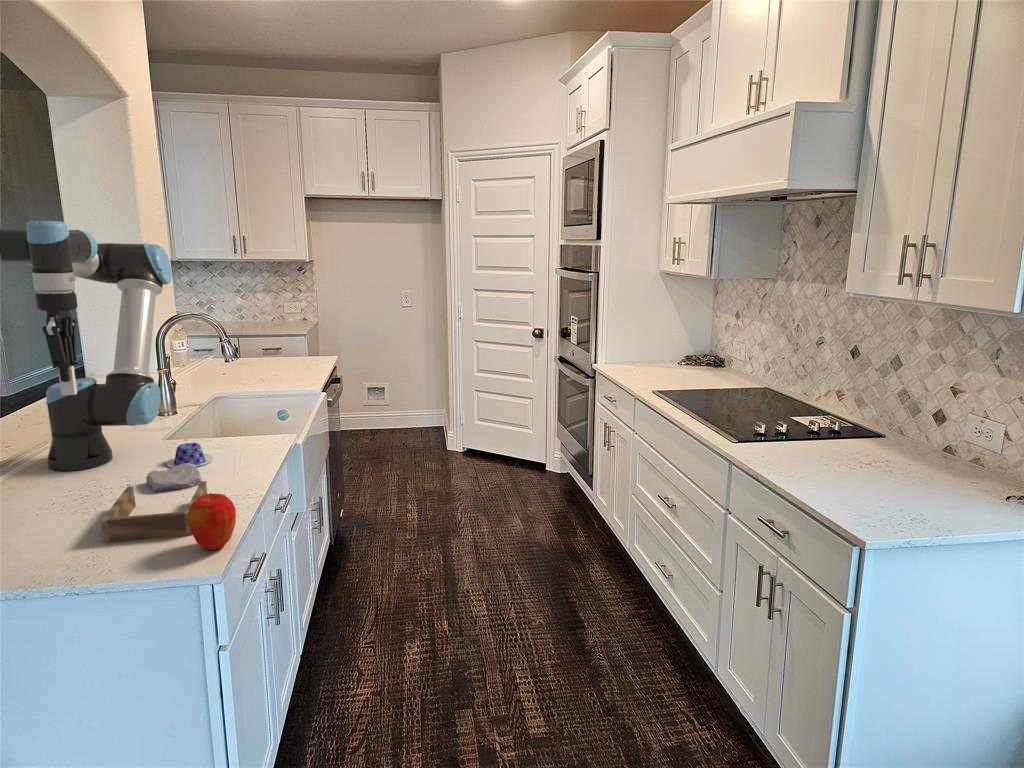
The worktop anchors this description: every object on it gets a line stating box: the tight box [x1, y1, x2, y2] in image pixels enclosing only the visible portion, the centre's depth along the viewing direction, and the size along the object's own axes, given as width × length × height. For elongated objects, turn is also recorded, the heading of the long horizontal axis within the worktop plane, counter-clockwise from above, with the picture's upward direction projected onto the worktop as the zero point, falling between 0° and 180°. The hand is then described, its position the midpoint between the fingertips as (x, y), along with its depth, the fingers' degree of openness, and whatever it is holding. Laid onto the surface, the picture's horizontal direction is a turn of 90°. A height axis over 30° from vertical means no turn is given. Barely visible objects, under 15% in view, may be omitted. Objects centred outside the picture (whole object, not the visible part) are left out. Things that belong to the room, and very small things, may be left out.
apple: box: [187, 492, 237, 550], centre depth 134 cm, size 9×9×12 cm
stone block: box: [145, 463, 203, 493], centre depth 168 cm, size 12×5×10 cm
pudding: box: [165, 442, 214, 468], centre depth 184 cm, size 12×12×5 cm
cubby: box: [100, 480, 208, 544], centre depth 147 cm, size 19×17×5 cm
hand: (69, 394), depth 151 cm, fingers closed
